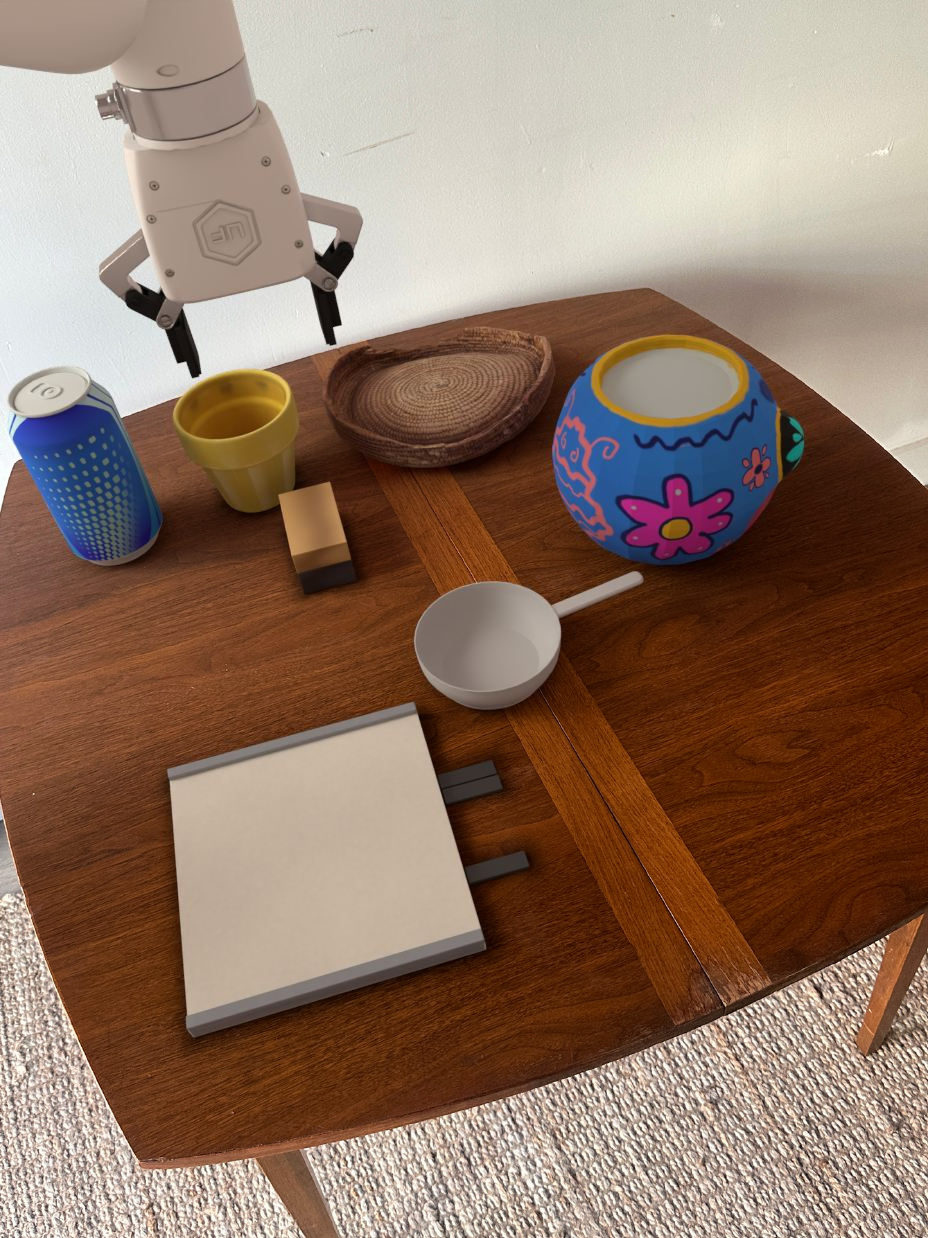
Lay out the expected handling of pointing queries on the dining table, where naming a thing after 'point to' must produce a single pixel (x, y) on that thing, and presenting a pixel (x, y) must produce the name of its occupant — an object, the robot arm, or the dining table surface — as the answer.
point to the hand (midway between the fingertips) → (262, 351)
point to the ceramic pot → (671, 448)
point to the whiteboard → (314, 869)
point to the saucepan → (497, 639)
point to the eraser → (316, 538)
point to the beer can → (84, 464)
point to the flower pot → (242, 435)
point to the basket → (439, 396)
